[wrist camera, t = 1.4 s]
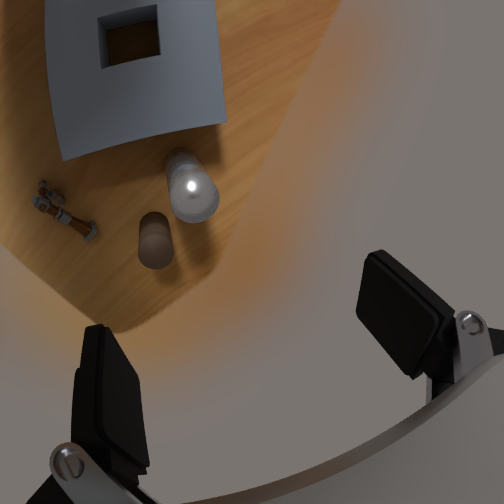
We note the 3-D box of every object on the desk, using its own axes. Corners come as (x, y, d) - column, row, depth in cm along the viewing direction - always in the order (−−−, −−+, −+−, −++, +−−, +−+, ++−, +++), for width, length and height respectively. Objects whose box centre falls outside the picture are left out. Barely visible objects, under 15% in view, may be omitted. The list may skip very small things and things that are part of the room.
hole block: (61, -7, 13) (46, -23, 9) (200, -37, 16) (210, -58, 12) (77, 150, 23) (63, 162, 19) (214, 118, 26) (226, 122, 22)
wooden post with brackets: (39, 170, 21) (37, 196, 19) (91, 206, 28) (97, 233, 26) (29, 183, 21) (26, 210, 19) (82, 217, 28) (86, 244, 26)
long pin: (162, 152, 26) (166, 182, 17) (194, 145, 27) (216, 172, 18) (167, 182, 28) (176, 228, 19) (198, 175, 28) (222, 217, 19)
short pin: (136, 215, 28) (133, 242, 23) (165, 208, 29) (168, 234, 24) (143, 242, 30) (143, 272, 25) (171, 235, 31) (176, 264, 26)
